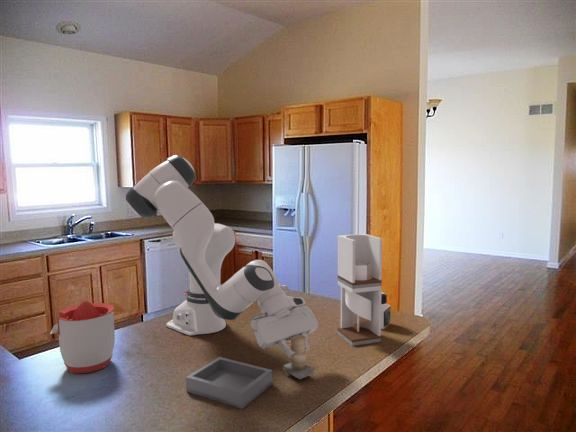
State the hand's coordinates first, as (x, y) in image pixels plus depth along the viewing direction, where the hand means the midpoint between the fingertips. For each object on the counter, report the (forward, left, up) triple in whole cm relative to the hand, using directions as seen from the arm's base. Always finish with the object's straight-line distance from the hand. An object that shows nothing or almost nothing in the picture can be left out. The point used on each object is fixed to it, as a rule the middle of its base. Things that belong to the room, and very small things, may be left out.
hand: (299, 352), depth 121 cm
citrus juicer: (-60, -24, -7) cm, 65 cm away
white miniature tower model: (+4, +35, -7) cm, 36 cm away
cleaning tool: (-1, 0, -6) cm, 6 cm away
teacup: (-43, +55, -7) cm, 70 cm away
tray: (-14, -14, -7) cm, 21 cm away
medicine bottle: (+6, +50, -7) cm, 51 cm away
